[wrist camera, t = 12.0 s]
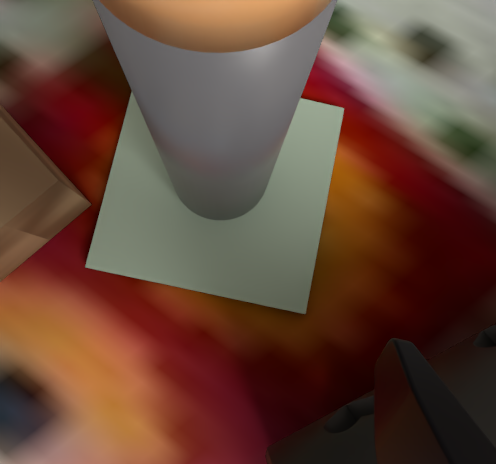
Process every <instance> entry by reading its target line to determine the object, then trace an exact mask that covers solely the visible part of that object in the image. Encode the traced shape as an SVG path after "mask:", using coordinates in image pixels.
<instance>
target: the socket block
mask: <svg viewBox="0 0 496 464" xmlns="http://www.w3.org/2000/svg"><path fill="white" fill-rule="evenodd" d="M90 205H92V204H91V203H90V202H89V201H88V200H87V199H86V198H85V197H84V196H83V194H82V193H81V192H80V191H79V190H78V189H77V188H76V187H75V186H74V185H73V183H72V182H71V181H70V180H69V179H68V178H67V177H66V176H65V175H64V174H63V173H62V171H61V170H60V169H59V168H58V167H57V166H56V165H55V164H54V163H53V162H52V160H51V159H50V158H49V157H48V156H47V155H46V154H45V153H44V152H43V151H42V149H41V148H40V147H39V146H38V145H37V144H36V143H35V142H34V141H33V140H32V139H31V137H30V136H29V135H28V134H27V133H26V132H25V131H24V130H23V129H22V128H21V126H20V125H19V124H18V123H17V122H16V121H15V120H14V119H13V118H12V117H11V116H10V114H9V113H8V112H7V111H6V110H5V109H4V108H3V107H2V106H1V105H0V282H1V281H2V280H3V279H4V278H5V277H7V276H8V275H9V274H10V273H11V272H13V271H14V270H15V269H16V268H17V267H18V266H20V265H21V264H22V263H23V262H24V261H26V260H27V259H28V258H29V257H30V256H31V255H33V254H34V253H35V252H36V251H37V250H39V249H40V248H41V247H42V246H43V245H44V244H46V243H47V242H48V241H49V240H50V239H52V238H53V237H54V236H55V235H56V234H57V233H59V232H60V231H61V230H62V229H63V228H64V227H66V226H67V225H68V224H69V223H70V222H72V221H73V220H74V219H75V218H76V217H77V216H79V215H80V214H81V213H82V212H83V211H85V210H86V209H87V208H88V207H89V206H90Z"/></svg>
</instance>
